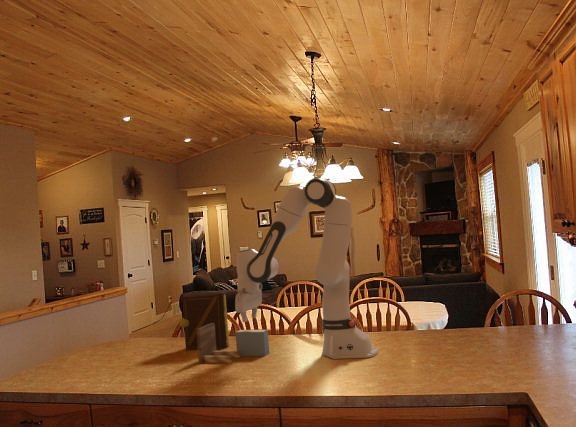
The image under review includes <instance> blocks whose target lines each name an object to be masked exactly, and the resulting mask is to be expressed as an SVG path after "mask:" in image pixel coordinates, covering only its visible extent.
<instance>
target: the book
mask: <svg viewBox="0 0 576 427" xmlns="http://www.w3.org/2000/svg"><path fill="white" fill-rule="evenodd" d="M181 299H182V312H183V317H182V318H180V319H179V326H180V327H181V328H184V340H185V351H186V350H188V351H198V345H197V331H196V329H198V328H200V327H203V326H205V325H208V324H210V323H215V337H216V350H219V349H220V350H221V349H223V350H224V349H227V348H229V347H230V337H229V326H228V312H227V311H228V310H227V309H228V308H227V296H226V291H215V292H200V293H186V294H184V295H182V297H181Z"/></svg>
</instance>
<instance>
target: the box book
mask: <svg viewBox="0 0 576 427" xmlns="http://www.w3.org/2000/svg"><path fill="white" fill-rule="evenodd" d="M235 345H236V346H235V347H236V351H240V357H267V356H268V355H269V354H270V345H269V330H268V329H240V330H237V331H235Z"/></svg>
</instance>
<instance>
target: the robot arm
mask: <svg viewBox="0 0 576 427" xmlns="http://www.w3.org/2000/svg"><path fill="white" fill-rule="evenodd" d="M310 205H316V206H318V207H320V208H323V210H324V223H323V231H322V240H321V246H320V250H319V253H318V259H317V263H316V267H315V271H314V275H315V279H316V280H317V282H318V283H320V284H321V285H323V289H322V290H323V292H322V298H321V306H322V307H321V308H322V317H323V318H322V320H321V321H322V323H321V325H322V332H323V346H322V352H321V354H322V356H324V357H327V358H330V359H331V358H332V360H335V359H336V360H339V359H359V358H360V359H364V358H365V359H366V358H372V357H375V356H376V355H377V354H378V353H379V350H378V347H376V346H373V344H372V341H371V338H370V335H368V334H367V333H366V332H365V331H362V330H361V329H360V328H359V327H357V324H356V323H357V321H356V318H353V317H351V308H350V282H351V281H350V276H351V275H350V270H351V267H350V264H349V261H347V260H346V259H347V254H348V250H349V247H350V240H351V230H352V223H353V222H352V217H353V216H352V215H353V214H352V203H351V201H350V200H349V199H348V198H347V197H344V196H340V195H337V188H336V186H335V185H334V184H333V182H331V181H329V180H328V179H326V178H323V177H314V178H312V179H310V180H308V181H307V183H306V184H305V187H303V186H301V185H292V186H290V187H289V188H288V190H287V191H286V192H285V194H284V195H283V197H282V199H281V200H280V202H279V205H278V207H277V210H276V212H275V213H274V214H275V215H274V218H273V220H272V223H271V225H270V228H269V230H268V232H267V234H266V235H265V237H264V240H263V242H262V244H261V246H260V248H259V249H258V251H257V250H256V249H255V248H249V249H248V248H247V249H244V250H240V251H238V253H237V255H236V273H237V278H236V281H237V284H236V286H237V294H235V300H234V301H235V302H234V306H235V307H234V308H235V312H236V313H239V314H240V316H241V319H242V322H243V323H246V322H248V321H249V320H248V317H247V312H248V311H250V310H252V311H251V318H252V319H255V318H257V312H258V307H259V306H260V307H261V306H262V303H263V302H262V301H263V292H262V290H263V284H262V283H264V282H266V281H268V280H270V279H273V278H274V277H275V276H277V275H278V273H279V271H280V263H279V261H278V260H277V258H276V257H275V255H276V252H277V250H278V248H279V246H280V244H281V243H282V241H283V240H284V239H285V238H286V237H288V236H289V235H290V234H292V233H294V232H296V230H297V228H298V227H299V225H300V224H301V223H302V220H303V218H304V215H305V213H306V211H307V209H308V208H309V207H310Z"/></svg>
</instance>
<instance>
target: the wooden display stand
mask: <svg viewBox="0 0 576 427" xmlns="http://www.w3.org/2000/svg"><path fill="white" fill-rule="evenodd" d="M196 331H197V345H198V350H197V355H198V364H204V363H209V364H210V363H213V364H215V363H216V364H217V363H219V364H220V363H221V364H223V363H224V364H230V363H232V362H233V360H232V359H233V358H241V356H240V351H237V350H217V349H216V337H215V323H210V324H208V325H205V326H203V327H200V328H198V329H196Z"/></svg>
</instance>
